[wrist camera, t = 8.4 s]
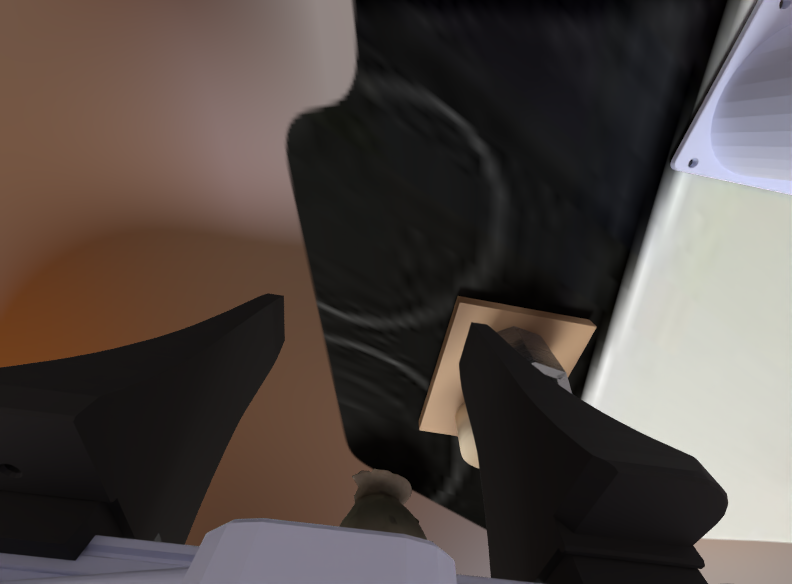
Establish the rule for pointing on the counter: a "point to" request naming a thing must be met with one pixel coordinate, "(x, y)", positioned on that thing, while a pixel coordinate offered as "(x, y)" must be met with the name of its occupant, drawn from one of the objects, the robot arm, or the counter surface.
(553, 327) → the board
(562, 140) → the counter surface
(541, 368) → the ring
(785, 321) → the counter surface
